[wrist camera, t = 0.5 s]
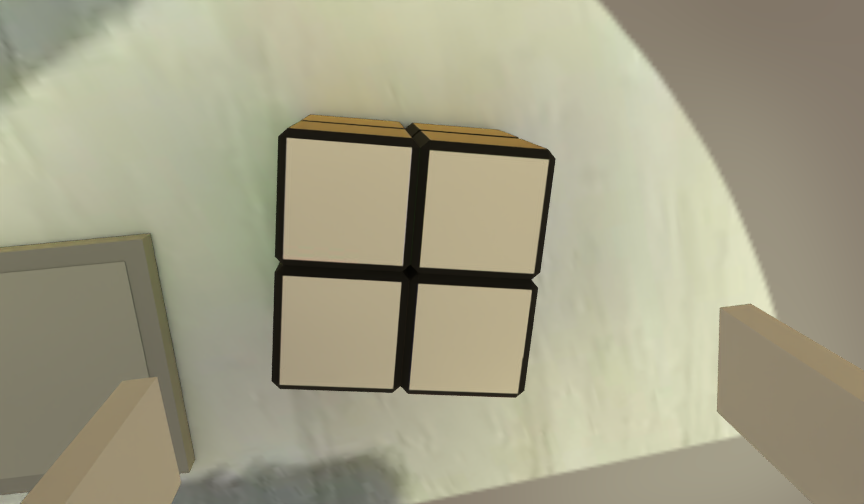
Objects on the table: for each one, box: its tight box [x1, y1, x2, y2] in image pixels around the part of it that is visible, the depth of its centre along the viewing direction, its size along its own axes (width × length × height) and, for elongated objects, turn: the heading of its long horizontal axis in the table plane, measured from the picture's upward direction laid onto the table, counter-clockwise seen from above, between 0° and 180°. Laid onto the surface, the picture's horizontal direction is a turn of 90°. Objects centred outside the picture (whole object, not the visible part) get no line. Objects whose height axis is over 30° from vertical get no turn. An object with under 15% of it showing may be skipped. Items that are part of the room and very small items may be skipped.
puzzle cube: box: [272, 115, 555, 398], centre depth 29 cm, size 10×10×10 cm
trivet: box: [0, 234, 195, 495], centre depth 33 cm, size 13×13×1 cm
